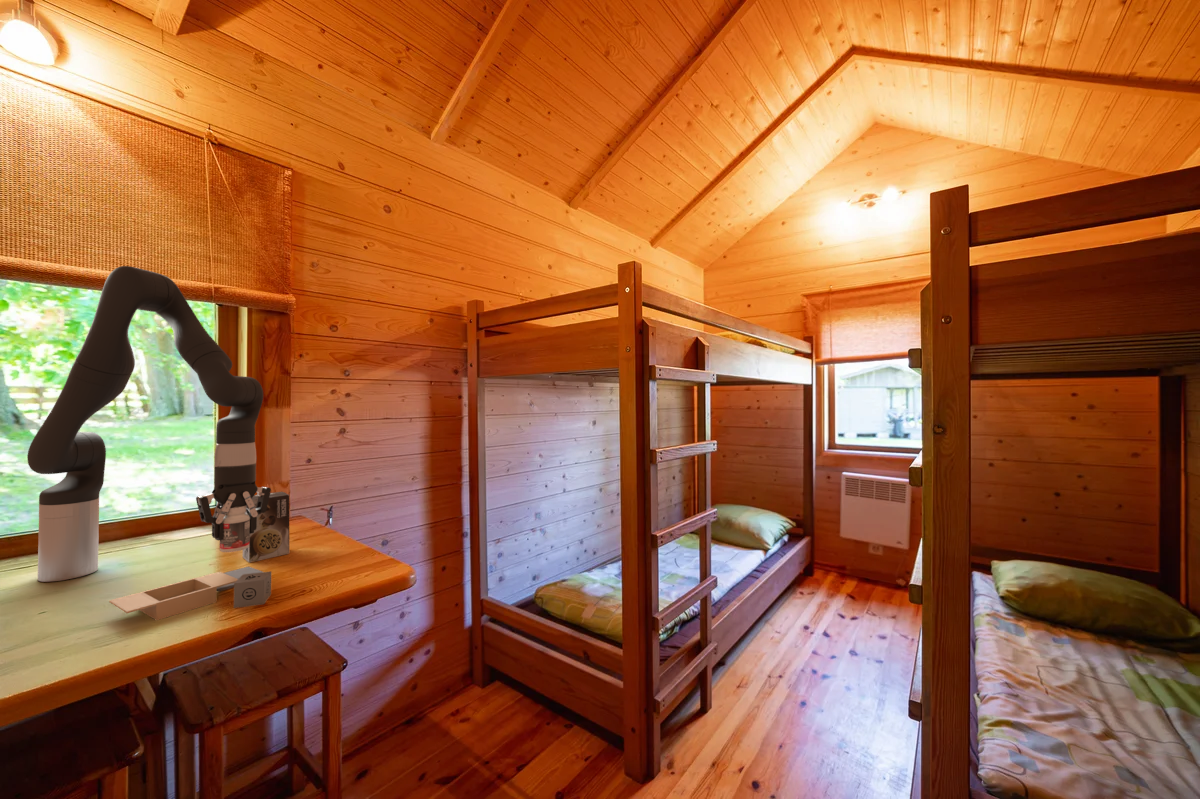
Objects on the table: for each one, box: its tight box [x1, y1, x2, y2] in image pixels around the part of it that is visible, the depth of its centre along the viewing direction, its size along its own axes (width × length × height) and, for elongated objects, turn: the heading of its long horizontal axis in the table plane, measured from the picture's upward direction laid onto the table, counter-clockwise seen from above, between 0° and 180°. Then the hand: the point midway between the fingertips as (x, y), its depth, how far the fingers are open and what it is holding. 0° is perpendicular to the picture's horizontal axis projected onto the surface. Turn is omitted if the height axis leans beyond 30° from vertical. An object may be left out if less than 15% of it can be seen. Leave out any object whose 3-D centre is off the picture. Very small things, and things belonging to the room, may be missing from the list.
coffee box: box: [242, 491, 291, 563], centre depth 122 cm, size 9×6×16 cm
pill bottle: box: [219, 505, 250, 553], centre depth 105 cm, size 5×5×10 cm
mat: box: [217, 566, 263, 593], centre depth 105 cm, size 10×10×1 cm
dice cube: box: [233, 571, 272, 609], centre depth 94 cm, size 5×5×5 cm
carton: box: [108, 571, 238, 621], centre depth 92 cm, size 9×17×3 cm, turn 151°
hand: (234, 536), depth 105 cm, fingers closed on pill bottle, 5 cm apart
